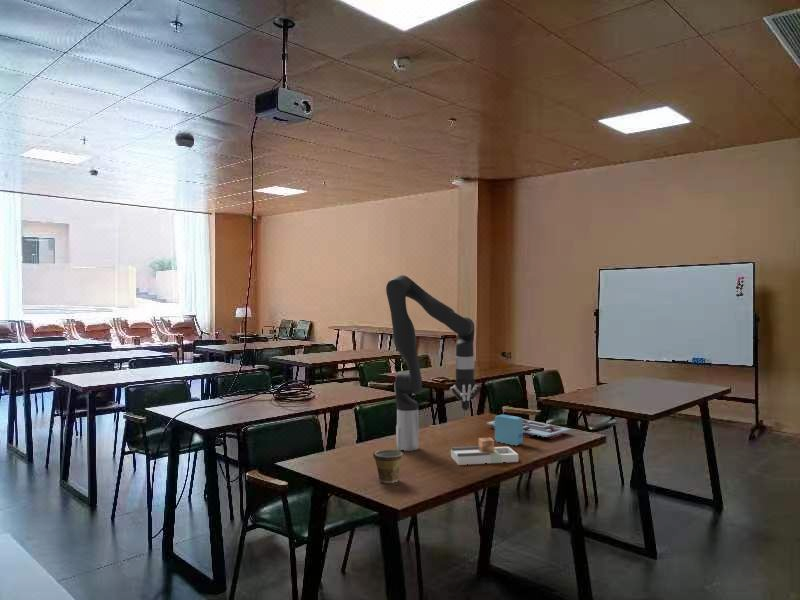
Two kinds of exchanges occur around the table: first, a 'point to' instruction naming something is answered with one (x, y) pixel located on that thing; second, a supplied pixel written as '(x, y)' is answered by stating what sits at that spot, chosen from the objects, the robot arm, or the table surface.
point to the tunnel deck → (482, 455)
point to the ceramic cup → (388, 465)
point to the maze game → (539, 429)
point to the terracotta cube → (486, 445)
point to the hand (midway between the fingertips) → (465, 409)
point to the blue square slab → (509, 429)
